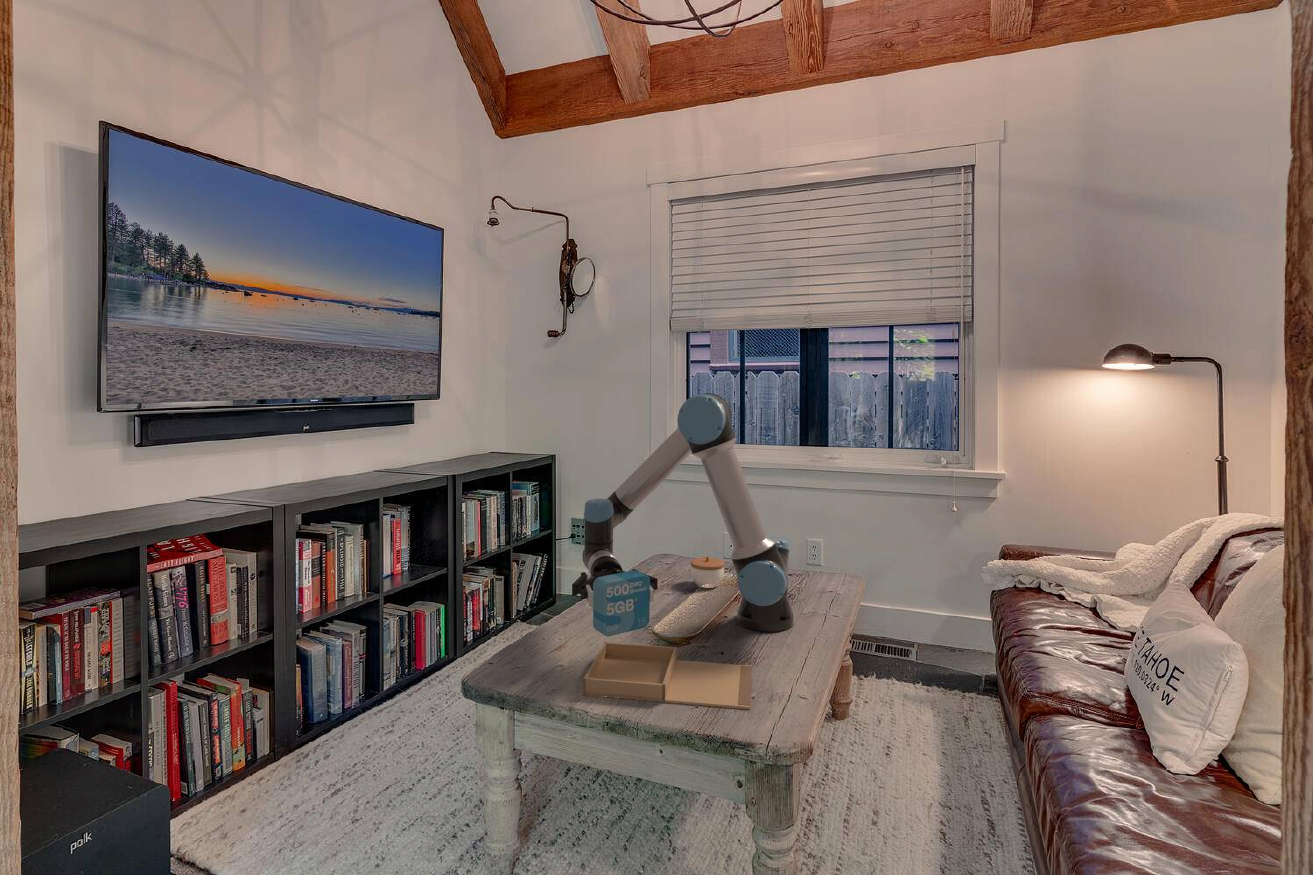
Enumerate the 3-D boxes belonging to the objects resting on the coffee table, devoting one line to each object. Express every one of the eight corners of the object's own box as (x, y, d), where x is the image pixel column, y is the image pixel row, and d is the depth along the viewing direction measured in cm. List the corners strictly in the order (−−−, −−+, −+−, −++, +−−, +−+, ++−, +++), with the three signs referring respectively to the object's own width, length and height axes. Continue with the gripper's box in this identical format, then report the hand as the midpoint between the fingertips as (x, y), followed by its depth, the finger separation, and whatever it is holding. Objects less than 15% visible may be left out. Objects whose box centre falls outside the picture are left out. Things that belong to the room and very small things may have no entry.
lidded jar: (701, 593, 203) (701, 563, 202) (684, 583, 213) (684, 554, 212) (730, 588, 208) (731, 558, 207) (712, 578, 218) (712, 550, 217)
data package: (602, 638, 141) (603, 583, 140) (592, 631, 144) (592, 577, 143) (649, 626, 147) (650, 574, 146) (638, 620, 151) (639, 568, 150)
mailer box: (751, 667, 152) (751, 652, 151) (750, 709, 133) (750, 692, 132) (604, 656, 157) (604, 642, 157) (583, 695, 138) (583, 678, 138)
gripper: (653, 580, 169) (676, 609, 148) (555, 588, 163) (565, 619, 142) (653, 552, 168) (676, 577, 147) (555, 558, 162) (565, 585, 141)
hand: (622, 597), depth 145 cm, fingers closed on data package, 13 cm apart
